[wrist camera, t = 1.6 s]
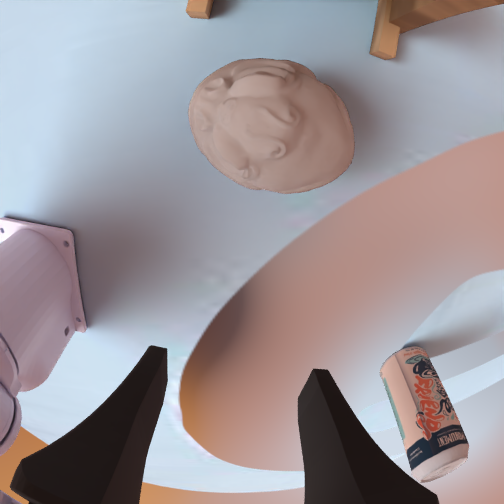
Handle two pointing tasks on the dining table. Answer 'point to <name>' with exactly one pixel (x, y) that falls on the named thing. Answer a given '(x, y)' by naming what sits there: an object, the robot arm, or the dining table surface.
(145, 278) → the dining table surface
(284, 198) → the dining table surface
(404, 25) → the upright wooden block
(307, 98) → the pink clay lump
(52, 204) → the dining table surface
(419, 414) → the beer can
